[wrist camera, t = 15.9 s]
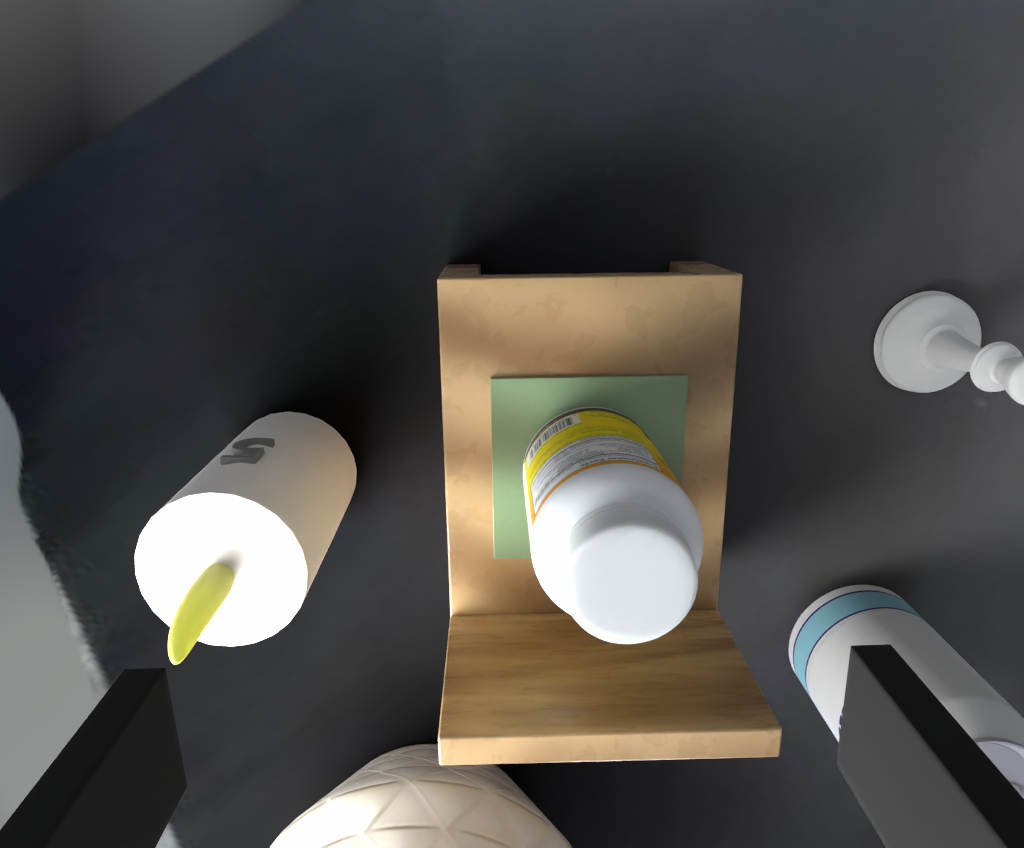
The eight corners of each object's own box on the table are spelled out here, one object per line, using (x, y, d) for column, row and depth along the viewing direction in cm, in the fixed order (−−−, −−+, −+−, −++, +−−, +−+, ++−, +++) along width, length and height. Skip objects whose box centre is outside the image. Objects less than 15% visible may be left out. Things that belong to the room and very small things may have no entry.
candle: (351, 405, 37) (261, 539, 23) (361, 528, 39) (283, 722, 25) (221, 408, 37) (48, 545, 23) (238, 531, 39) (88, 728, 24)
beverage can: (815, 559, 40) (943, 705, 29) (930, 596, 41) (1100, 752, 29) (760, 666, 42) (861, 844, 30) (872, 699, 43) (1011, 885, 31)
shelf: (446, 264, 35) (416, 308, 22) (703, 260, 35) (830, 301, 22) (457, 574, 40) (438, 767, 26) (684, 569, 40) (780, 758, 27)
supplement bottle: (639, 535, 33) (701, 681, 23) (511, 517, 32) (519, 657, 22) (668, 412, 31) (748, 513, 21) (534, 391, 31) (553, 484, 21)
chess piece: (865, 390, 37) (992, 458, 28) (881, 289, 36) (1022, 324, 26) (963, 391, 38) (1124, 459, 28) (983, 291, 36) (1159, 326, 27)
